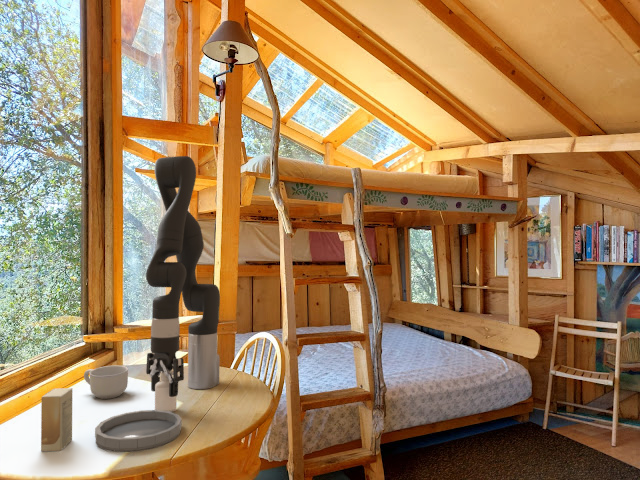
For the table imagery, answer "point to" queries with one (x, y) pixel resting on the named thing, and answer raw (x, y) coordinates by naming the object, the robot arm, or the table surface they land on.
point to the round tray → (138, 430)
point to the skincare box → (56, 419)
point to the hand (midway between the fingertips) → (164, 393)
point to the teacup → (107, 381)
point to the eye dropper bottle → (164, 395)
